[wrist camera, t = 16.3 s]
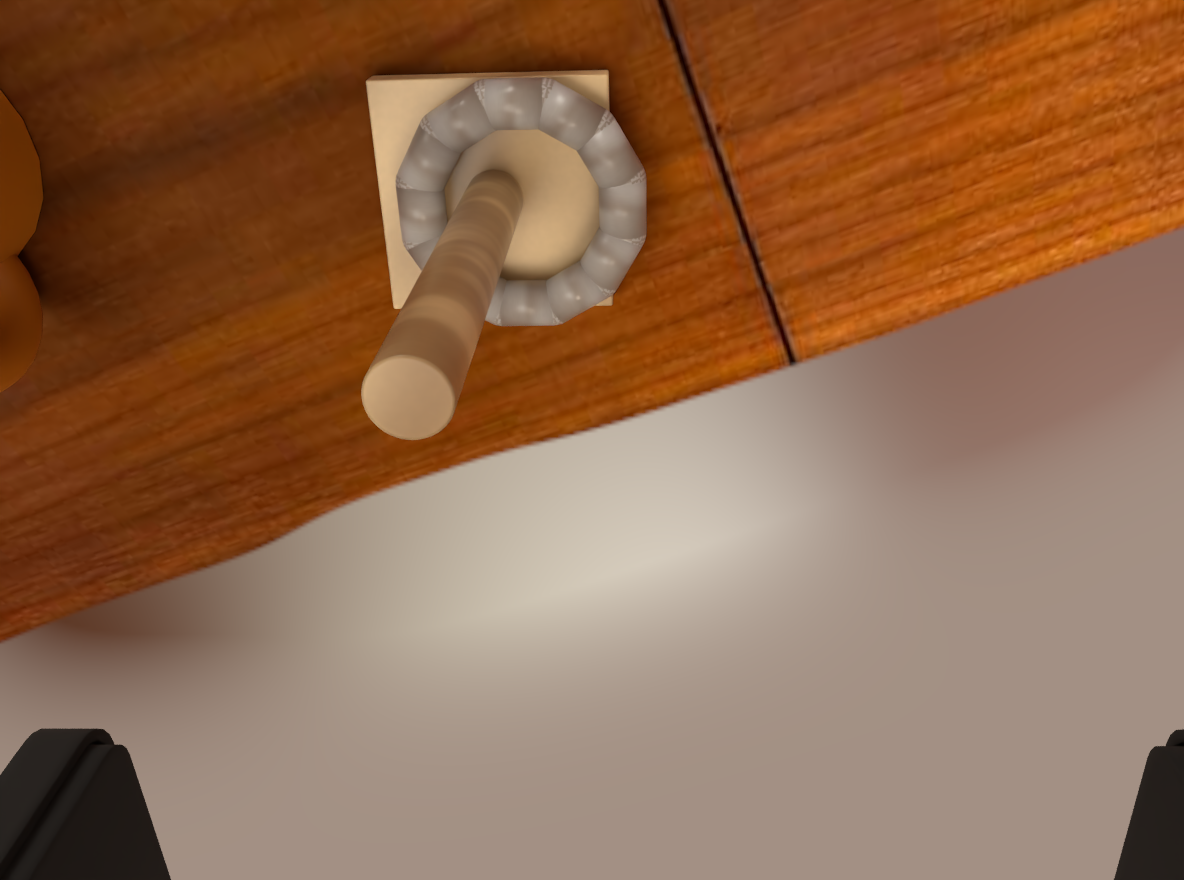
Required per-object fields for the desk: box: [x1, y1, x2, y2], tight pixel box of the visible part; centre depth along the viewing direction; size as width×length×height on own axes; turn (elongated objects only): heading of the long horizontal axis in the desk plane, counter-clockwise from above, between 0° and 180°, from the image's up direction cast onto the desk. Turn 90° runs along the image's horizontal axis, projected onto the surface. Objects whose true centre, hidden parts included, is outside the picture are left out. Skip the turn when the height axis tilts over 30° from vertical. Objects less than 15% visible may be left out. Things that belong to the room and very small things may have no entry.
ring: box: [395, 77, 647, 326], centre depth 35 cm, size 8×8×2 cm
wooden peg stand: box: [361, 70, 613, 440], centre depth 30 cm, size 8×8×17 cm
